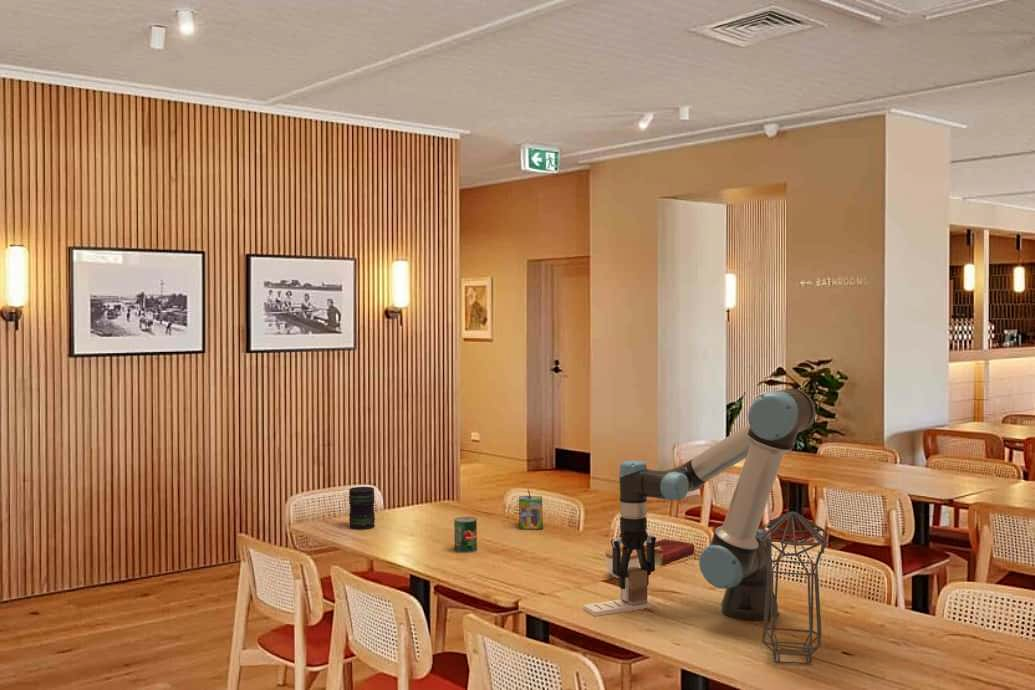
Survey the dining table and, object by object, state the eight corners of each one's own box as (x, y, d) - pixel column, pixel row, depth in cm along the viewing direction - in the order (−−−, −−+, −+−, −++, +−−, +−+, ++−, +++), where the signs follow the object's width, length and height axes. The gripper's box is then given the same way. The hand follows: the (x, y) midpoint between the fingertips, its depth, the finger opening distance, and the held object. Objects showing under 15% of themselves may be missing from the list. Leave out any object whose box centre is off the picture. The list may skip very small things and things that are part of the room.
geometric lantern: (760, 644, 246) (760, 504, 244) (827, 650, 241) (827, 507, 240) (756, 666, 231) (756, 516, 229) (827, 672, 226) (827, 520, 225)
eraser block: (647, 603, 277) (647, 571, 277) (631, 605, 275) (631, 573, 274) (636, 597, 282) (636, 566, 282) (620, 599, 280) (620, 568, 280)
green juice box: (543, 529, 378) (542, 491, 378) (519, 529, 378) (518, 491, 378) (542, 524, 387) (542, 486, 387) (519, 524, 388) (518, 487, 387)
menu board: (651, 607, 277) (651, 603, 277) (594, 616, 270) (594, 611, 270) (638, 601, 283) (638, 596, 283) (583, 609, 276) (583, 604, 276)
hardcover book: (694, 555, 338) (694, 542, 338) (661, 567, 322) (661, 554, 322) (664, 549, 346) (664, 537, 346) (631, 561, 330) (630, 549, 330)
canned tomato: (472, 553, 341) (471, 522, 341) (451, 552, 344) (450, 520, 344) (480, 548, 349) (480, 517, 349) (459, 546, 352) (459, 516, 351)
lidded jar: (638, 581, 304) (638, 551, 303) (603, 580, 306) (603, 550, 306) (641, 573, 314) (641, 543, 314) (607, 571, 316) (607, 542, 316)
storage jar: (353, 524, 391) (353, 486, 391) (378, 524, 390) (377, 486, 390) (346, 529, 382) (345, 491, 381) (370, 530, 380) (370, 491, 380)
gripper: (653, 510, 285) (654, 591, 286) (598, 516, 278) (599, 599, 278) (668, 515, 278) (668, 597, 279) (611, 521, 271) (612, 606, 271)
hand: (634, 598), depth 279 cm, fingers closed on eraser block, 5 cm apart
